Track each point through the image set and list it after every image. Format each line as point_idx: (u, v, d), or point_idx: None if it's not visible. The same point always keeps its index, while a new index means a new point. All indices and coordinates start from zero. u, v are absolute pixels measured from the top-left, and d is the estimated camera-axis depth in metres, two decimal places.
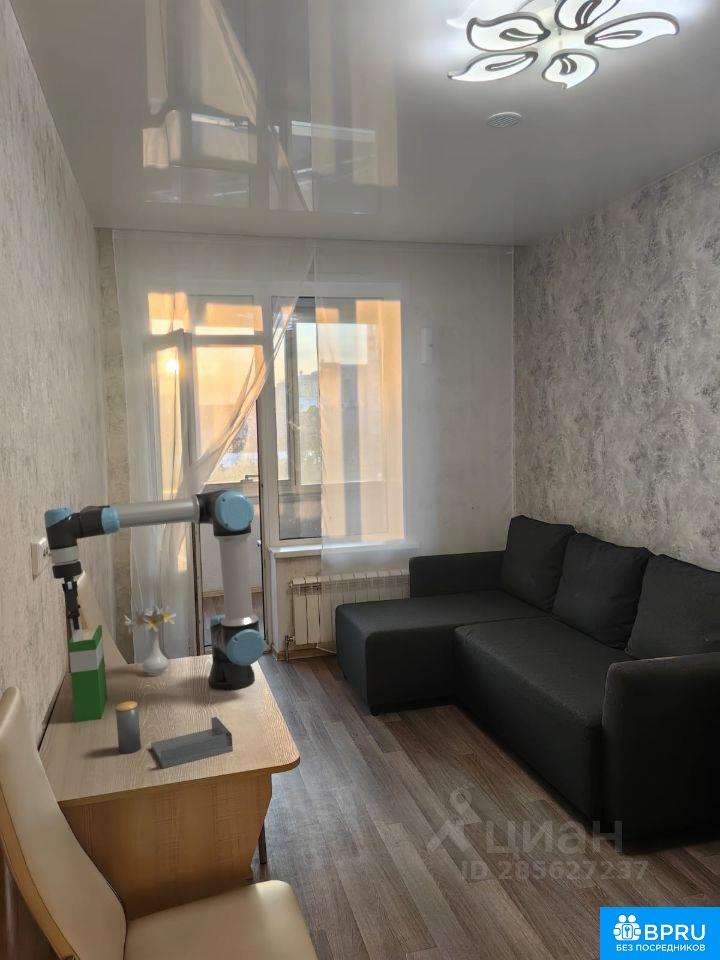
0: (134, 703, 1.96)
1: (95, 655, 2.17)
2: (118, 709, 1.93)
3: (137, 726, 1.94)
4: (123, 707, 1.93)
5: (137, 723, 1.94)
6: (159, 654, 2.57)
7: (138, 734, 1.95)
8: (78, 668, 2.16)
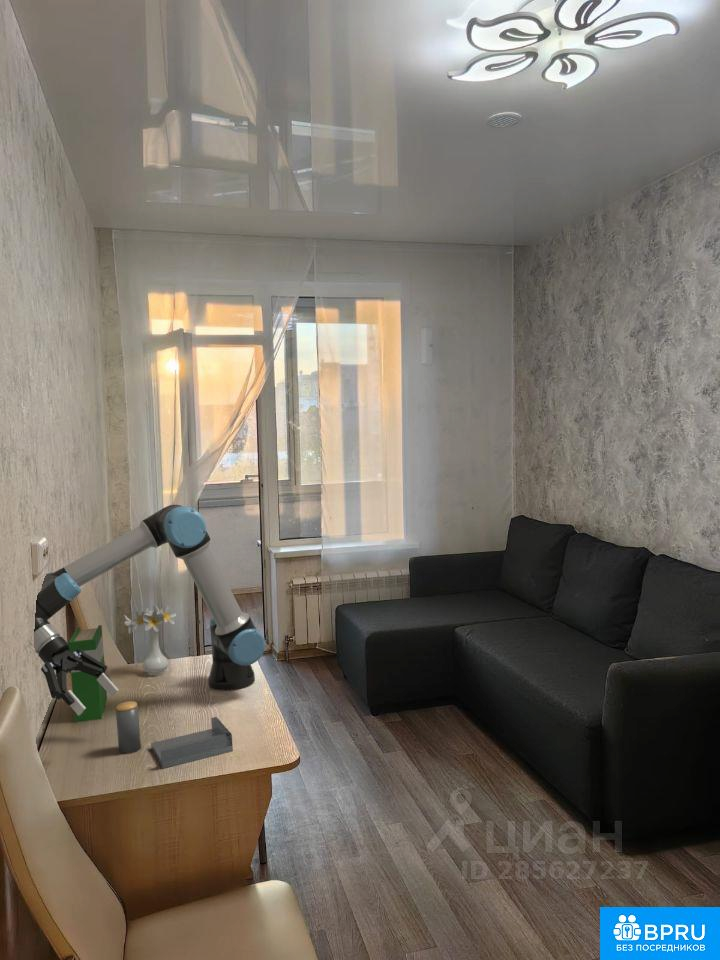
0: (134, 703, 1.96)
1: (95, 655, 2.17)
2: (118, 709, 1.93)
3: (137, 726, 1.94)
4: (123, 707, 1.93)
5: (137, 723, 1.94)
6: (159, 654, 2.57)
7: (138, 734, 1.95)
8: None
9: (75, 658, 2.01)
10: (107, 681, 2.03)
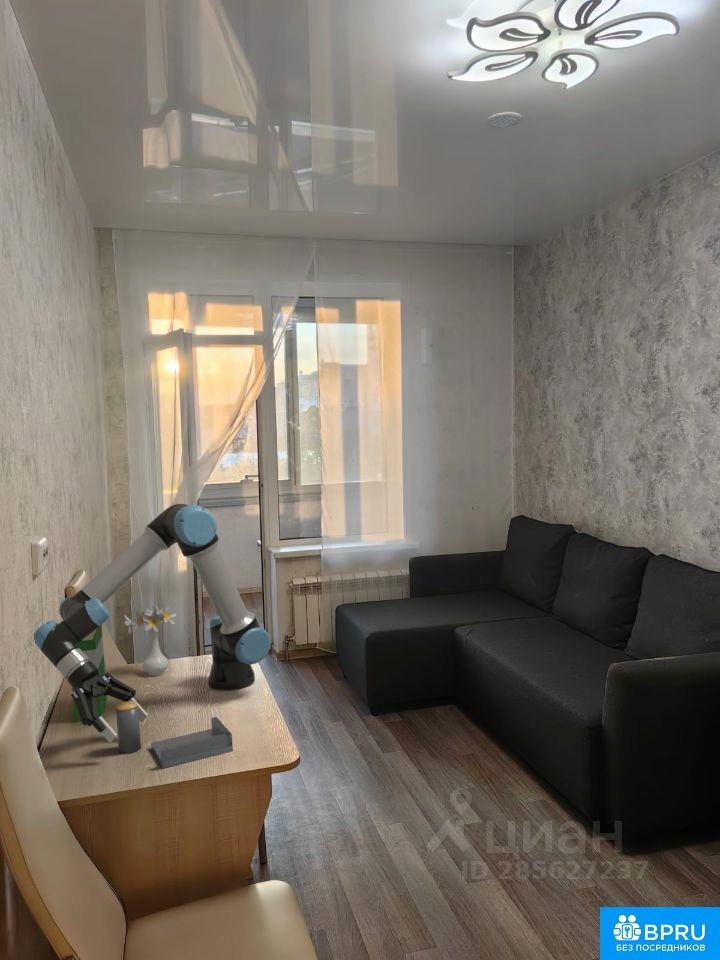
0: (134, 703, 1.96)
1: (95, 655, 2.17)
2: (118, 709, 1.93)
3: (137, 726, 1.94)
4: (123, 707, 1.93)
5: (137, 723, 1.94)
6: (159, 654, 2.57)
7: (138, 734, 1.95)
8: None
9: (104, 683, 1.99)
10: None
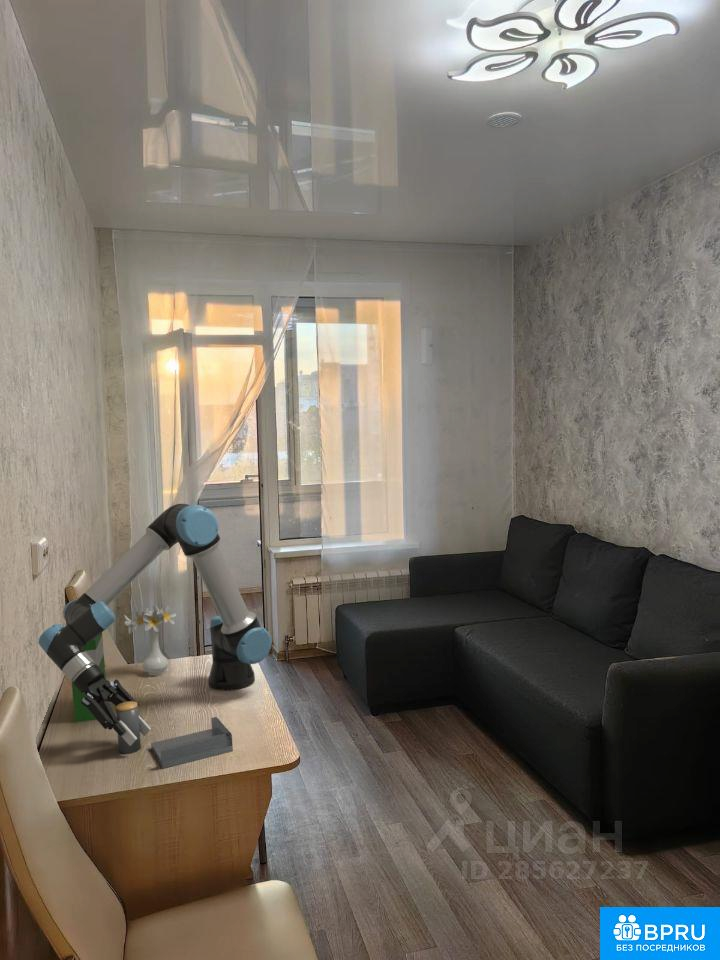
0: (134, 703, 1.96)
1: (95, 655, 2.17)
2: (118, 709, 1.93)
3: (137, 726, 1.94)
4: (123, 707, 1.93)
5: (137, 723, 1.94)
6: (159, 654, 2.57)
7: (138, 734, 1.95)
8: None
9: (110, 688, 1.98)
10: (139, 720, 1.97)
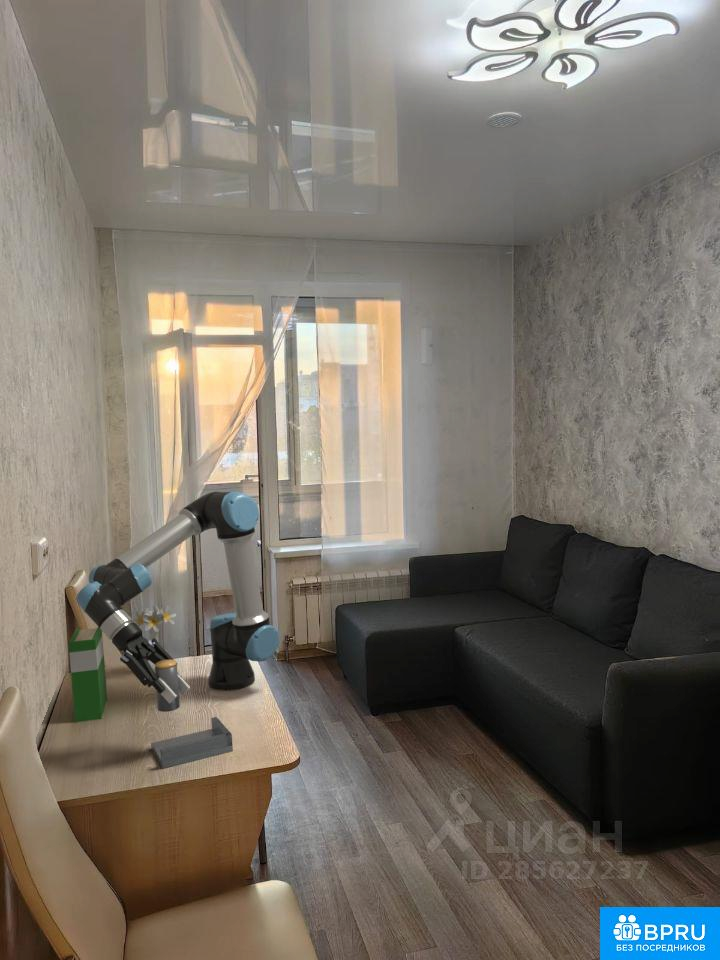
0: (173, 661, 1.93)
1: (95, 655, 2.17)
2: (157, 666, 1.90)
3: (176, 684, 1.91)
4: (162, 664, 1.90)
5: (176, 681, 1.91)
6: None
7: (177, 692, 1.92)
8: (78, 668, 2.16)
9: (148, 646, 1.95)
10: (178, 678, 1.94)
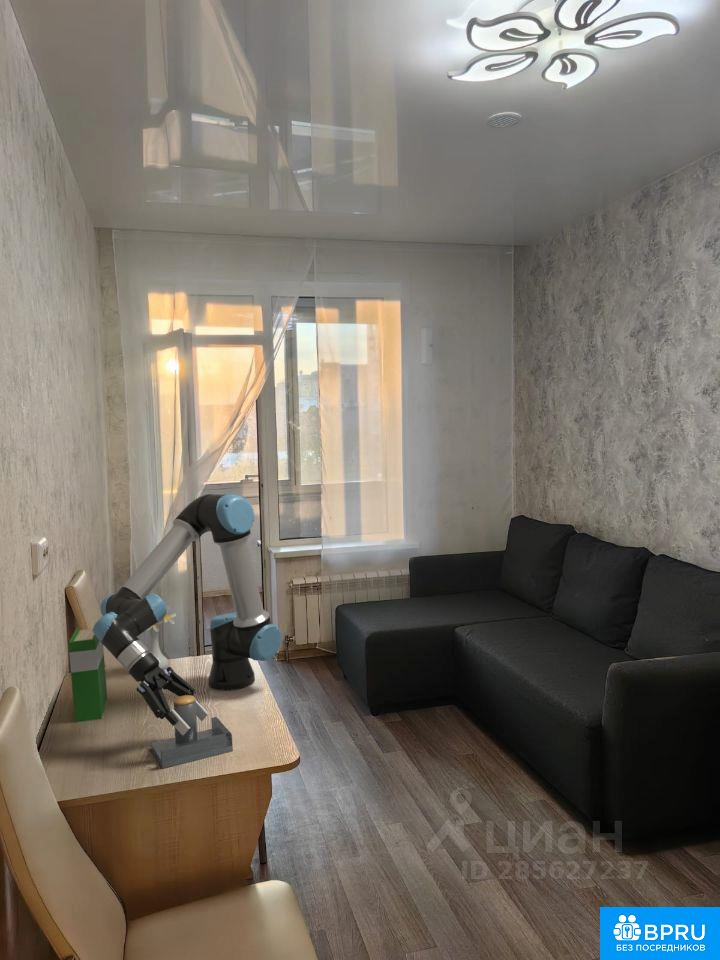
0: (192, 697, 1.93)
1: (95, 655, 2.17)
2: (176, 703, 1.90)
3: (195, 720, 1.92)
4: (181, 701, 1.91)
5: (194, 718, 1.92)
6: (159, 654, 2.57)
7: (195, 728, 1.93)
8: (78, 668, 2.16)
9: (165, 676, 1.96)
10: (197, 705, 1.96)
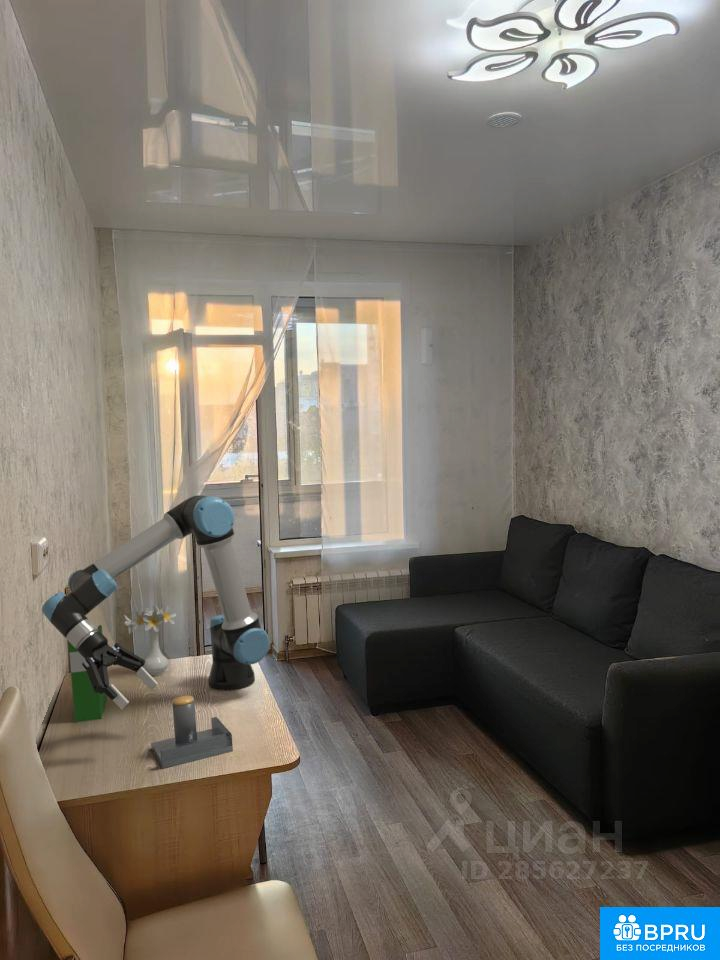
0: (190, 697, 1.93)
1: None
2: (175, 703, 1.90)
3: (194, 720, 1.92)
4: (180, 701, 1.91)
5: (194, 718, 1.92)
6: (159, 654, 2.57)
7: (195, 728, 1.93)
8: (78, 668, 2.16)
9: (114, 653, 2.01)
10: (146, 675, 2.04)
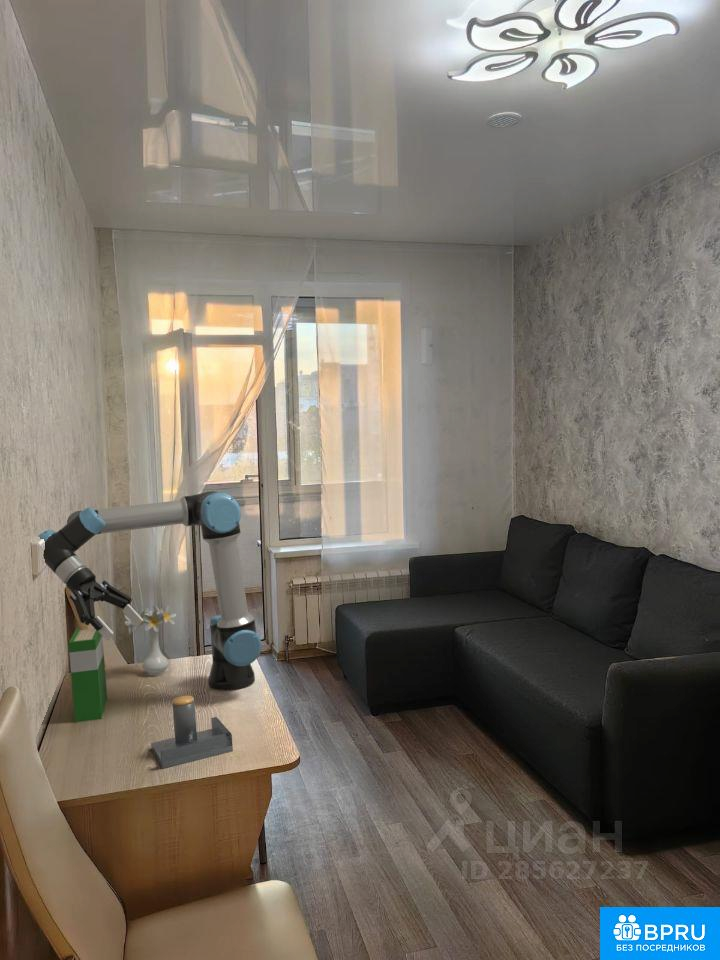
0: (190, 697, 1.93)
1: (95, 655, 2.17)
2: (175, 703, 1.90)
3: (194, 720, 1.92)
4: (180, 701, 1.91)
5: (194, 718, 1.92)
6: (159, 654, 2.57)
7: (195, 728, 1.93)
8: (78, 668, 2.16)
9: (101, 589, 2.07)
10: (132, 611, 2.10)
